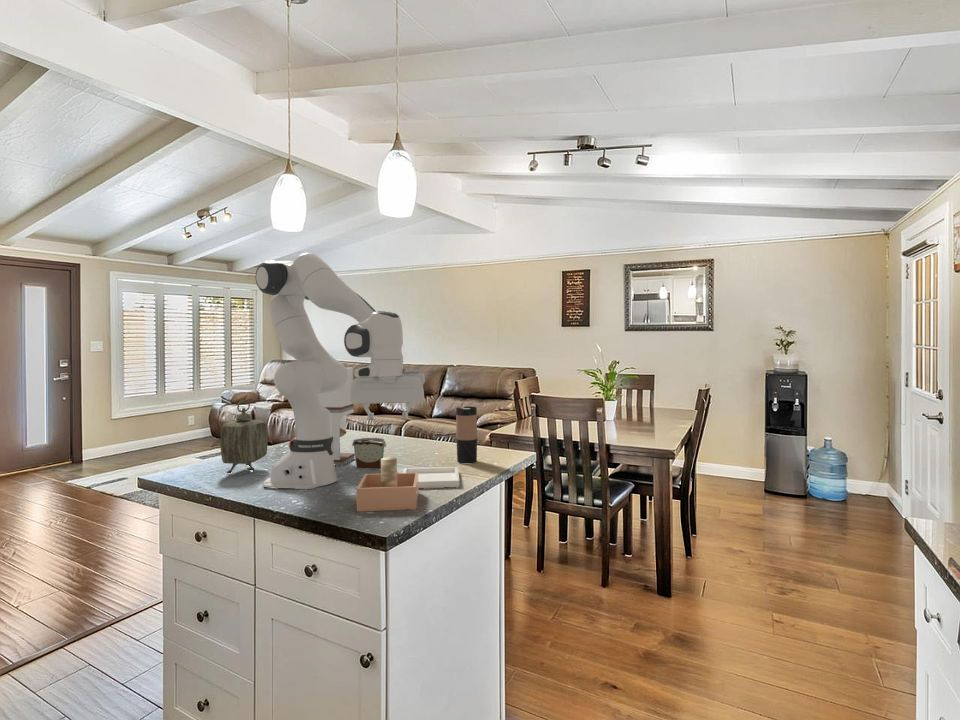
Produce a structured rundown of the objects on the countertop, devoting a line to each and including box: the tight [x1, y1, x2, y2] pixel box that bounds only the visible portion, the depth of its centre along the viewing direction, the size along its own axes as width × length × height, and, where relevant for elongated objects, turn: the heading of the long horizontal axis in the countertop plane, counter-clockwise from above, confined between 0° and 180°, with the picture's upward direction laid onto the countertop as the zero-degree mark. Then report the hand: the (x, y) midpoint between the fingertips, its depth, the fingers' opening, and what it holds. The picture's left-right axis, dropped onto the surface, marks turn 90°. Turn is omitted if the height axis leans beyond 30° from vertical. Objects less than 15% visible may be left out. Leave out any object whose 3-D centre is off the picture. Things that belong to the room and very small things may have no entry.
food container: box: [351, 437, 387, 470], centre depth 191 cm, size 12×6×10 cm, turn 77°
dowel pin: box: [380, 456, 398, 487], centre depth 150 cm, size 4×4×12 cm
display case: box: [318, 366, 355, 466], centre depth 199 cm, size 11×11×35 cm
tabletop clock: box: [219, 399, 268, 474], centre depth 185 cm, size 14×9×25 cm, turn 171°
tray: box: [402, 466, 460, 489], centre depth 171 cm, size 18×18×2 cm
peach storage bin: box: [356, 472, 420, 512], centre depth 150 cm, size 16×16×6 cm
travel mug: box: [455, 405, 478, 464], centre depth 197 cm, size 8×8×20 cm
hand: (388, 419), depth 149 cm, fingers open, 8 cm apart
